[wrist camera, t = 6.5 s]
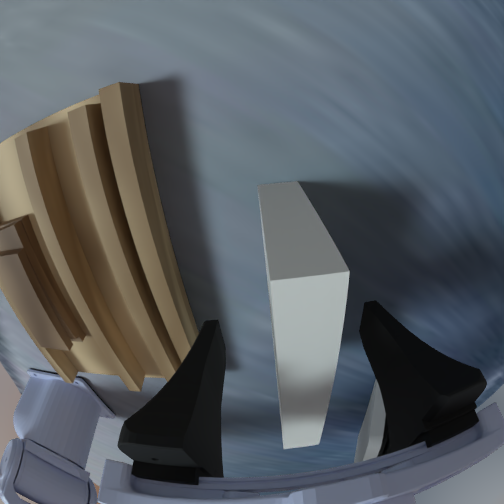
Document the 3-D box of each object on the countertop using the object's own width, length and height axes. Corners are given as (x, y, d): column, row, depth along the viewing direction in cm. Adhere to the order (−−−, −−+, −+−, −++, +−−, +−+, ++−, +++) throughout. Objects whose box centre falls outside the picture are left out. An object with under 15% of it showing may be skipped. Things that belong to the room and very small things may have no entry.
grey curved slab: (391, 426, 30) (382, 488, 23) (359, 426, 32) (347, 488, 24) (422, 360, 22) (423, 455, 14) (377, 361, 24) (367, 457, 16)
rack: (73, 364, 21) (64, 384, 19) (-23, 160, 11) (-47, 172, 9) (211, 369, 21) (209, 396, 19) (138, 84, 11) (116, 82, 9)
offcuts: (55, 333, 18) (44, 352, 16) (-1, 223, 13) (-19, 238, 11) (89, 335, 18) (79, 355, 16) (31, 213, 13) (11, 228, 11)
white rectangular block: (273, 348, 20) (283, 449, 13) (257, 184, 14) (270, 280, 7) (301, 345, 20) (318, 444, 13) (297, 181, 14) (349, 271, 7)
